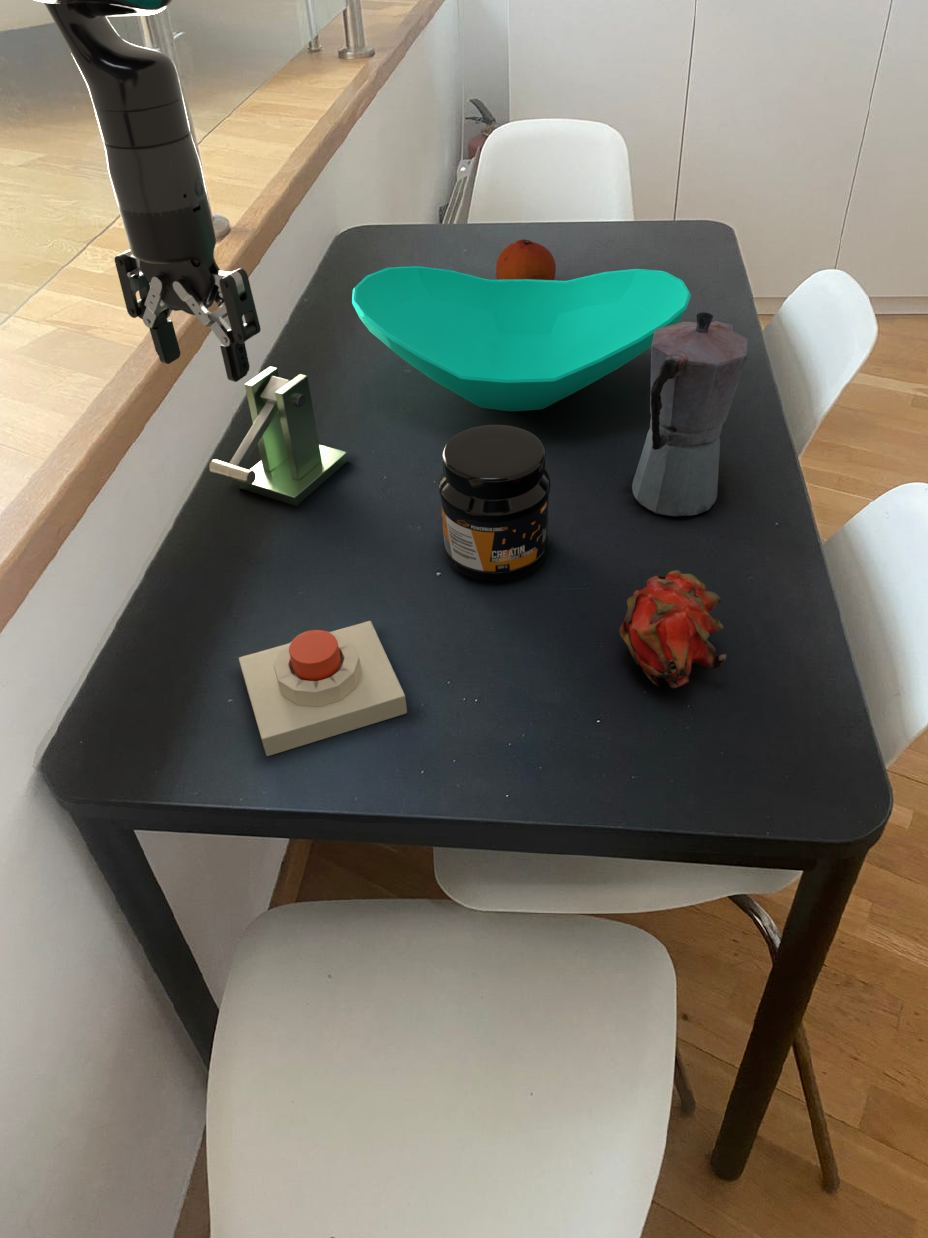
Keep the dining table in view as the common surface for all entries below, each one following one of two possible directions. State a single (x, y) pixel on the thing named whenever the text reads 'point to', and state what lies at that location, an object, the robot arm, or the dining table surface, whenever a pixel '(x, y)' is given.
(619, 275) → the table top decor
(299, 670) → the button
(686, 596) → the dragon fruit
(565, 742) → the dining table surface
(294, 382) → the switch bracket
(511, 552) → the supplement container
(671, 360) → the moka pot
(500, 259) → the fruit
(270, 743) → the button base
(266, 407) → the switch lever
